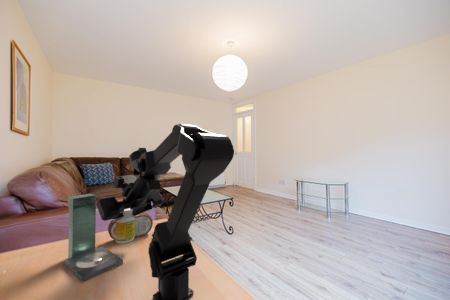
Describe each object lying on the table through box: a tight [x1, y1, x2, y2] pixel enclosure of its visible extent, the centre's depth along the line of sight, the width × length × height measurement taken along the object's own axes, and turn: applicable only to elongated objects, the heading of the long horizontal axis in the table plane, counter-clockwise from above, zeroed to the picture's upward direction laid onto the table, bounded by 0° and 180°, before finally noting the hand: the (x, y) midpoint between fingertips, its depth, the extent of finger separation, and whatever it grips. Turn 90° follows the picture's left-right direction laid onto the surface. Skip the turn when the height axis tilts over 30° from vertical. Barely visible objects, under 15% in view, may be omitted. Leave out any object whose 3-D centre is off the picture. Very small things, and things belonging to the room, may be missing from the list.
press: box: [63, 193, 124, 283], centre depth 59 cm, size 24×10×18 cm, turn 55°
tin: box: [107, 212, 154, 241], centre depth 74 cm, size 15×3×8 cm, turn 124°
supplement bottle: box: [115, 208, 135, 244], centre depth 63 cm, size 5×5×10 cm
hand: (123, 218), depth 64 cm, fingers closed on supplement bottle, 5 cm apart
